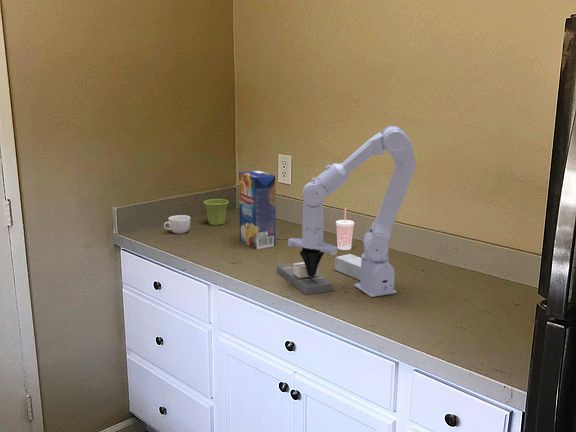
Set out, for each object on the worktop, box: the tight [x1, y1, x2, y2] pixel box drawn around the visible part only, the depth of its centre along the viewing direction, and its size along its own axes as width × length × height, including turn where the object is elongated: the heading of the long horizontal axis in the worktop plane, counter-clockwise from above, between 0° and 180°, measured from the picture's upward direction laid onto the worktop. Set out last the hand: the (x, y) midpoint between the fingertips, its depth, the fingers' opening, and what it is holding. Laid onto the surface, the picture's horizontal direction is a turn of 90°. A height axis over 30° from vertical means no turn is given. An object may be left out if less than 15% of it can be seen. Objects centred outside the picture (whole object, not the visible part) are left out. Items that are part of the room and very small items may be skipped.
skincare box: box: [334, 253, 361, 282], centre depth 178 cm, size 6×4×12 cm
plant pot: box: [203, 198, 229, 226], centre depth 233 cm, size 9×9×9 cm
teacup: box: [163, 214, 191, 235], centre depth 221 cm, size 10×8×5 cm
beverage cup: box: [335, 206, 355, 251], centre depth 202 cm, size 6×6×14 cm
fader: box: [292, 261, 320, 278], centre depth 170 cm, size 4×6×3 cm, turn 113°
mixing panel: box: [276, 261, 334, 295], centre depth 172 cm, size 20×8×2 cm, turn 23°
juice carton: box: [238, 170, 276, 250], centre depth 205 cm, size 12×8×24 cm, turn 31°
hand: (311, 275), depth 167 cm, fingers closed
